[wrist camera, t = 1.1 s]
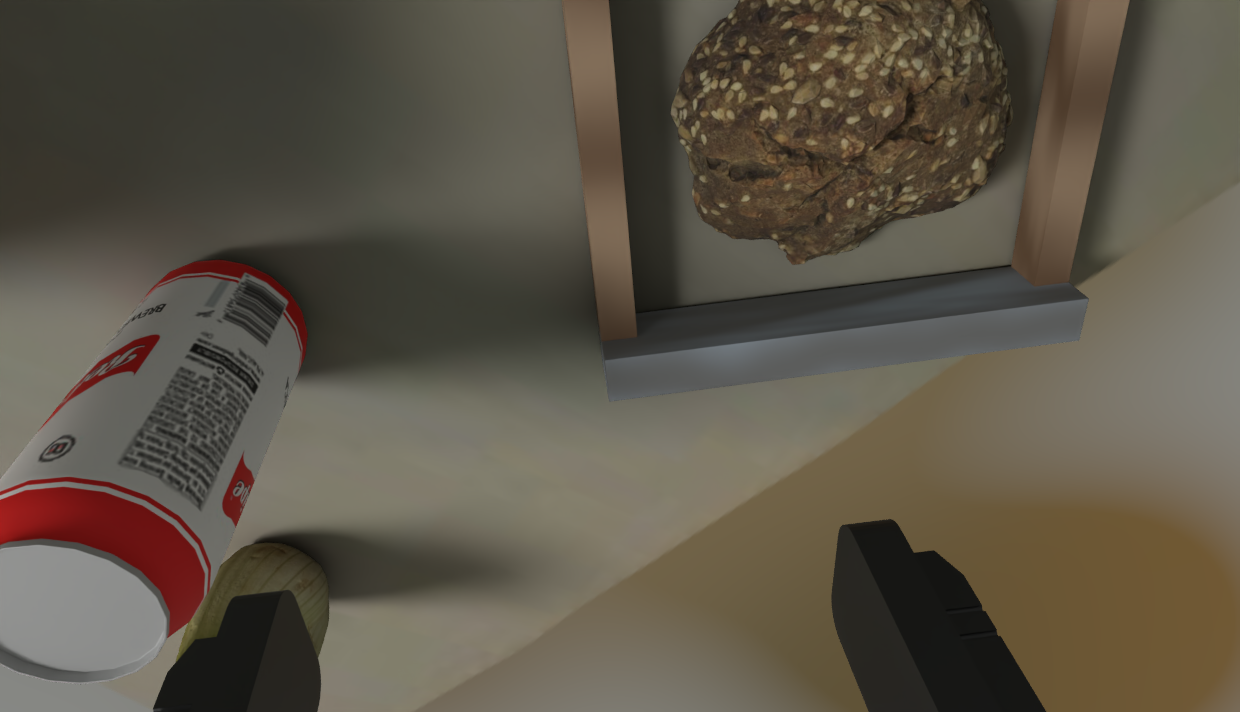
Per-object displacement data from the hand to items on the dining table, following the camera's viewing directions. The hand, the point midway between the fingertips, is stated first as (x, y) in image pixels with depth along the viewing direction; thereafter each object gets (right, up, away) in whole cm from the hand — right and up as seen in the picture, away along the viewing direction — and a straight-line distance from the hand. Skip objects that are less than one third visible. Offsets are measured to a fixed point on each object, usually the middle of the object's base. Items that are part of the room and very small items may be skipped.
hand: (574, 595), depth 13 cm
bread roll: (+9, +13, +21) cm, 27 cm away
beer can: (-15, +5, +23) cm, 28 cm away
